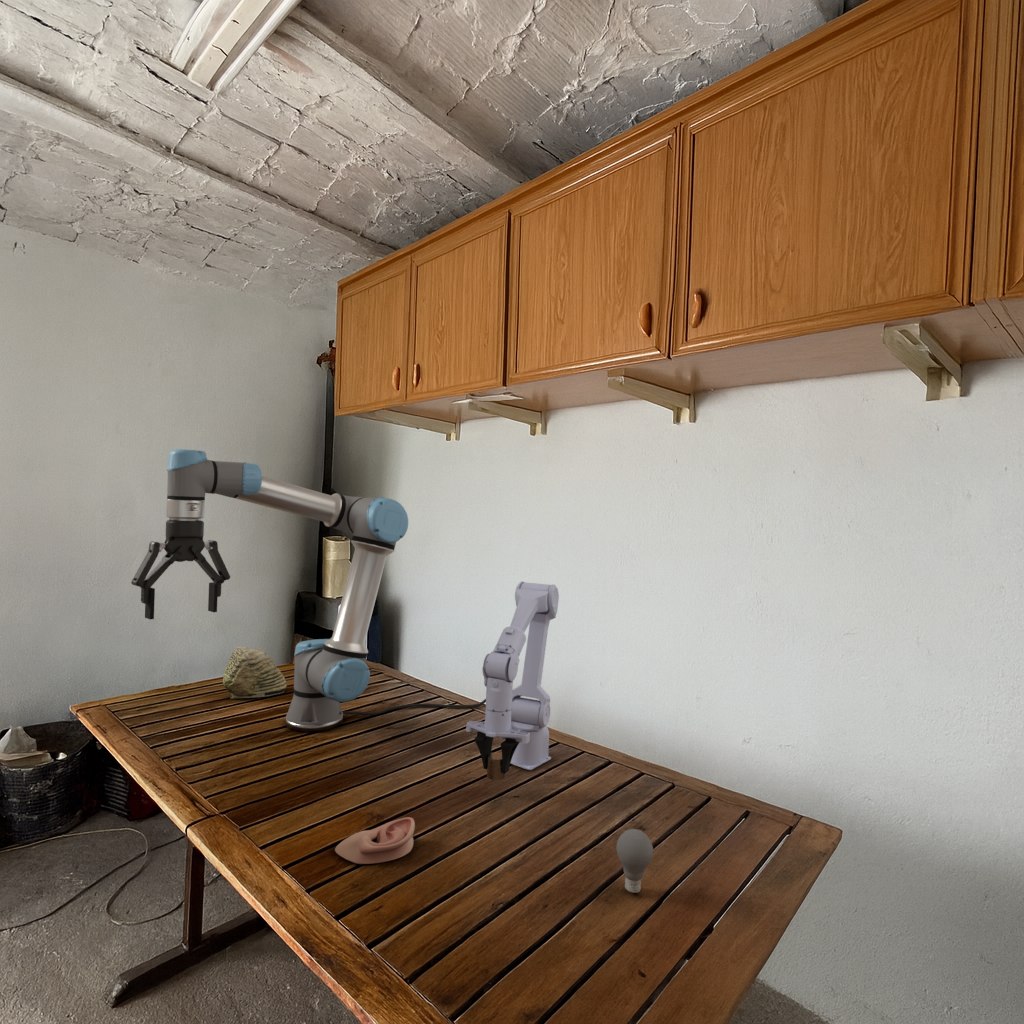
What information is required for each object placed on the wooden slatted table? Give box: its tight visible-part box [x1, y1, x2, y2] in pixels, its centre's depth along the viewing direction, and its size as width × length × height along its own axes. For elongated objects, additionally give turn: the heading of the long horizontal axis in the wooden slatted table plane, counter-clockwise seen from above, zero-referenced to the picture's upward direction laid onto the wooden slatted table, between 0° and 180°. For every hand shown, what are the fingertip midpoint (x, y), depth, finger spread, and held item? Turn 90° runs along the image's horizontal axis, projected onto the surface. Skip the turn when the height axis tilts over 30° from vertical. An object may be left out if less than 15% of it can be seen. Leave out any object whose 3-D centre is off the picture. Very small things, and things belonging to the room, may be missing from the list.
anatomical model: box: [334, 816, 416, 865], centre depth 115 cm, size 13×4×12 cm
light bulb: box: [615, 828, 654, 894], centre depth 106 cm, size 6×6×10 cm
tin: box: [486, 751, 506, 781], centre depth 138 cm, size 4×4×4 cm
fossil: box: [222, 646, 288, 699], centre depth 198 cm, size 9×18×15 cm, turn 132°
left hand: (182, 614), depth 141 cm, fingers open, 13 cm apart
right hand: (495, 769), depth 138 cm, fingers closed on tin, 4 cm apart
